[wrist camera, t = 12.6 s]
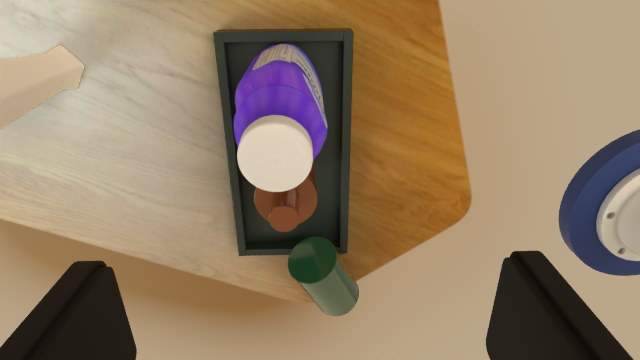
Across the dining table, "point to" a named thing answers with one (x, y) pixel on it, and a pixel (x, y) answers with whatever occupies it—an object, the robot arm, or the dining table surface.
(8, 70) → the perfume bottle
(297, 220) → the middle bottle
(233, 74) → the tray
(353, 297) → the green bottle
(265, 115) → the bottle
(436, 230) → the dining table surface
